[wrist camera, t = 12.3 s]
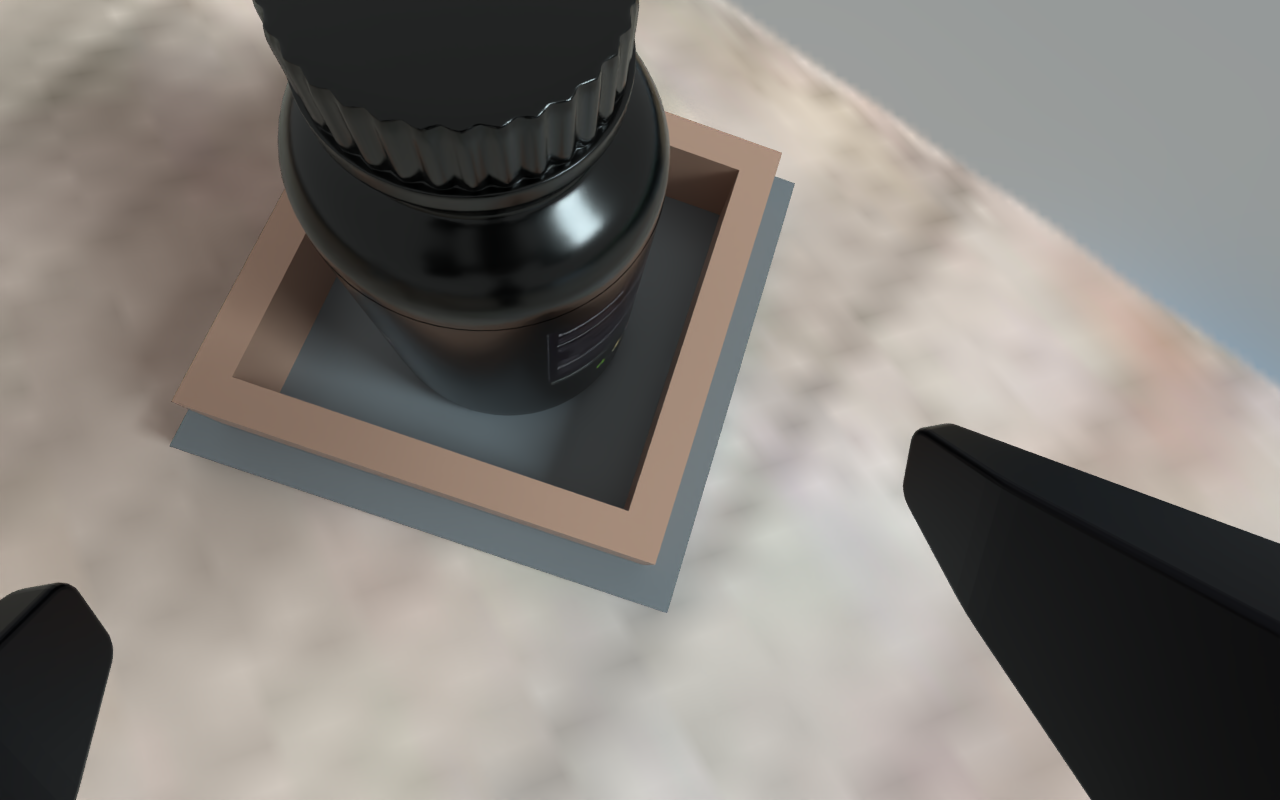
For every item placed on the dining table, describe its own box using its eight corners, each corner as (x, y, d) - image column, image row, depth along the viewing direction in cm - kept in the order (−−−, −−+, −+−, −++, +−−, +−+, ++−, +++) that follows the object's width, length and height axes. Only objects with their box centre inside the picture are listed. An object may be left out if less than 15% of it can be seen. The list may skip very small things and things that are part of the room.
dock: (662, 610, 19) (682, 619, 16) (189, 452, 19) (108, 427, 16) (785, 199, 23) (823, 136, 20) (391, 60, 23) (361, -29, 19)
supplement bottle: (342, 344, 19) (5, -1, 8) (478, 166, 21) (373, -334, 9) (551, 468, 19) (534, 311, 7) (670, 278, 21) (806, -90, 9)
